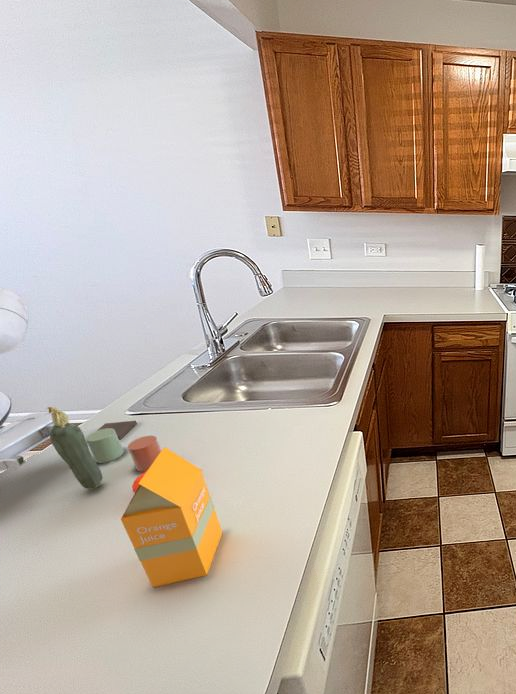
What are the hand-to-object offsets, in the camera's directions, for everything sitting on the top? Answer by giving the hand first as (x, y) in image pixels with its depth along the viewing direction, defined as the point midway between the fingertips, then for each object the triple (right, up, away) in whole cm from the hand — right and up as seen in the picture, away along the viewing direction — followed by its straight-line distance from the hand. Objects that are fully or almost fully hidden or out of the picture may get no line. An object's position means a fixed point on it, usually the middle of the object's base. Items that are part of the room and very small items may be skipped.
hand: (45, 446), depth 77 cm
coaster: (-8, -2, +22) cm, 24 cm away
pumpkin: (+20, -11, +4) cm, 23 cm away
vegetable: (+6, -10, +4) cm, 12 cm away
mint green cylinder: (-1, -6, +14) cm, 15 cm away
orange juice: (+36, -17, -10) cm, 41 cm away
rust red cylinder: (+11, -7, +11) cm, 17 cm away
